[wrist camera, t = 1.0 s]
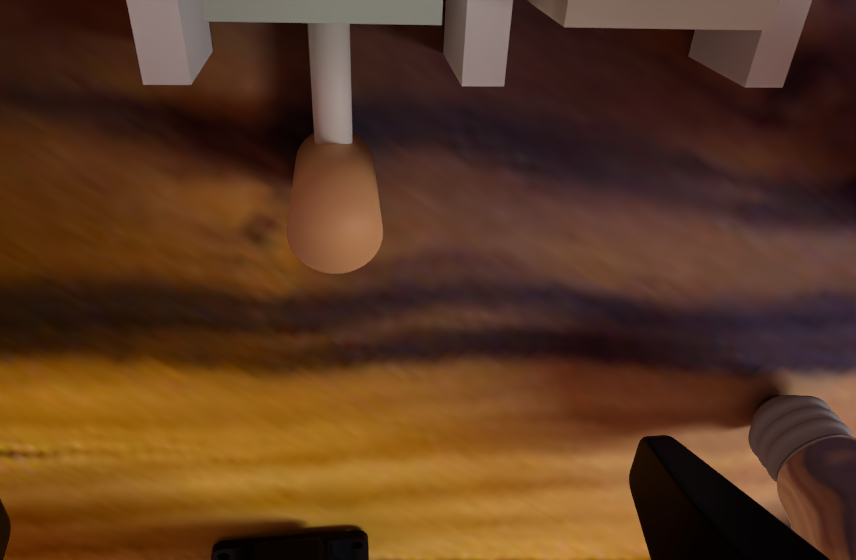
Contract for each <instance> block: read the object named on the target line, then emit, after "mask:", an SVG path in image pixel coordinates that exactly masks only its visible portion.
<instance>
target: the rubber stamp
mask: <svg viewBox="0 0 856 560" xmlns="http://www.w3.org/2000/svg"><path fill="white" fill-rule="evenodd" d="M202 2H203V9H204V16H205V21H214V22H276V23H308V39H309V56H310V73H311V90H312V107H313V124H314V133H313V134H311V135H310V136H309V137H307V138H306V139H305V140H304V141H303V143H302V144H301V146H300V147H299V149H298V151H297V155H296V160H295V168H294V176H293V184H292V192H291V200H290V208H289V216H288V224H287V238H288V242H289V245H290V247H291V249H292V251H293V253H294V254H295V255H296V257H297V258H298V259H299V260H300V261H301V262H303V263H304V264H305V265H307V266H308V267H310V268H312V269H314V270H317V271H320V272H324V273H331V274H339V273H346V272H350V271H354V270H356V269H358V268H360V267H362V266H364V265H365V264H367V263H368V262H369V261H370V260H371V259H372V258H373V257H374V256H375V254H376V253H377V251H378V250H379V248H380V245H381V242H382V238H383V226H382V219H381V212H380V204H379V197H378V190H377V182H376V175H375V168H374V160H373V156H372V153H371V151H370V149H369V147H368V145H367V144H366V143H365V142H364V141H363V139H361V138H360V137H359V136H358V135H356V134H355V133H353V132H352V101H351V61H350V24H399V25H442V11H443V0H202Z"/></svg>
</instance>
